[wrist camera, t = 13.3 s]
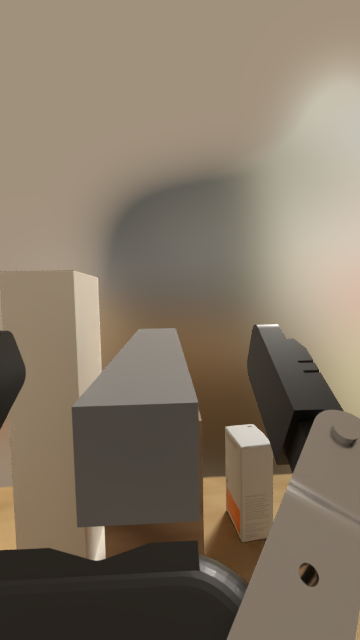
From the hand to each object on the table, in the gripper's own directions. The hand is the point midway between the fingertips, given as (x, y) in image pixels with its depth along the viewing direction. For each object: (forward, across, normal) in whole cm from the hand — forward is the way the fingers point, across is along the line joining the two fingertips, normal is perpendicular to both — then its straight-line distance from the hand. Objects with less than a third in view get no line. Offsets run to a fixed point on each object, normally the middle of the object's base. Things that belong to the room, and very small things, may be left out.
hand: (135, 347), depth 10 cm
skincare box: (+9, -11, +38) cm, 40 cm away
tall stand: (+6, +11, +35) cm, 37 cm away
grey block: (+7, 0, +10) cm, 13 cm away
